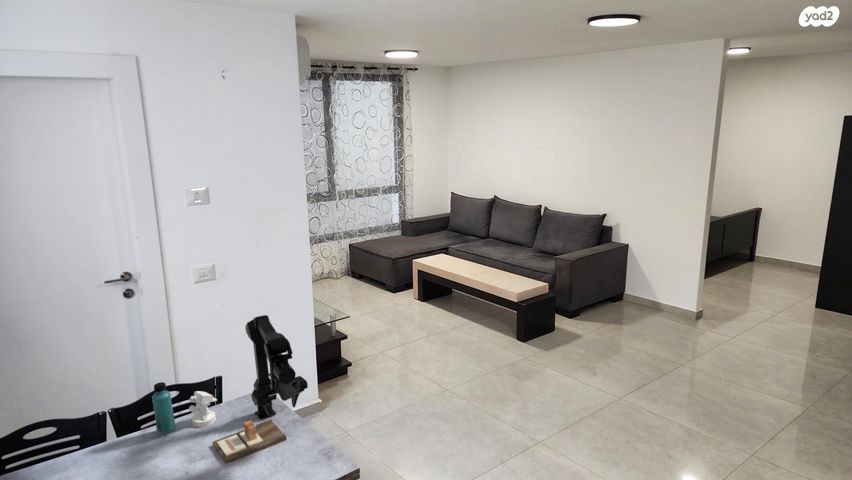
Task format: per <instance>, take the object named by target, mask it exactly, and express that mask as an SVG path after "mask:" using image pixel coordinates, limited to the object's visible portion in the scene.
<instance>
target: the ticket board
mask: <svg viewBox="0 0 852 480" xmlns="http://www.w3.org/2000/svg"><path fill="white" fill-rule="evenodd" d="M254 425H255V426H256V433H257V434H258V435H259V436H260V437H261V439H262V440H263V441H262V442H259V443H257V444H254V445H251V446H250V447H249V446H248V445H247V443H246V442H245V441H244V440H243V438H242V437H241V436H240V435H239V433H241V432H244V431H245V429H241V430H238V431H237V432H235V433H233V434H230V435H227V436H224V437H221V438H219V439H216V440H214V441H212V446H213V447H214V449H215V451H216V452H217V454H218V455H219V456H220V458H221V459H222V461H223V463H225V465H228V464H230V463H233V462H235V461H238V460H241V459H243V458H245V457H247V456H250V455H253V454H255V453H258V452H260V451H262V450H265V449H268V448H270V447H272V446H275V445H278V444H279V443H280V444H281V443H283V442H285V441H287V436H286V433H285V432H283V431H282V430H281V429H280V428H279V427H278V426H277V425H276V424H275V423H274V422H273V419H269V420H267V421H263V422H260V423H258V424H254Z"/></svg>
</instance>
